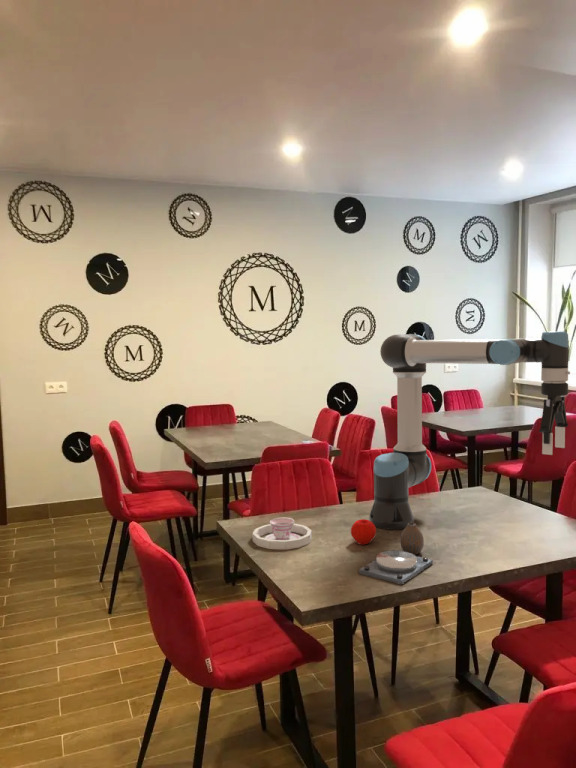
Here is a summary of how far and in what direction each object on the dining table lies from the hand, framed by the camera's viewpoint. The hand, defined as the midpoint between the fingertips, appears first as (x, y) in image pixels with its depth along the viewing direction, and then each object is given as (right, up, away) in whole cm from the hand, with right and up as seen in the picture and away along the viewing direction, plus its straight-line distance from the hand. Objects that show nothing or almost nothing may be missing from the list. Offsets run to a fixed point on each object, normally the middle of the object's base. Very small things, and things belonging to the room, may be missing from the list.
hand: (553, 450), depth 189 cm
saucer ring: (-84, -29, +7) cm, 89 cm away
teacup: (-84, -30, +7) cm, 89 cm away
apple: (-58, -29, +2) cm, 65 cm away
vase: (-45, -30, -7) cm, 54 cm away
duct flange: (-52, -31, -19) cm, 63 cm away
